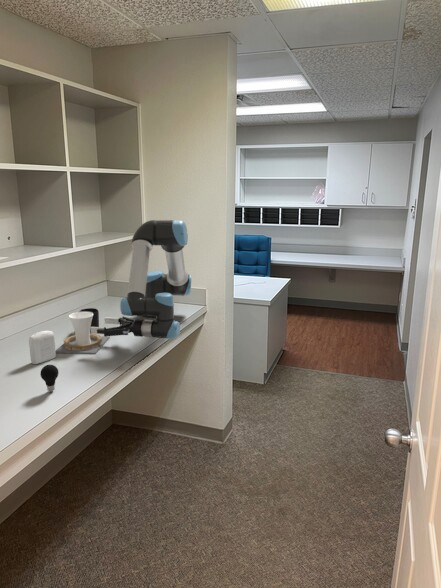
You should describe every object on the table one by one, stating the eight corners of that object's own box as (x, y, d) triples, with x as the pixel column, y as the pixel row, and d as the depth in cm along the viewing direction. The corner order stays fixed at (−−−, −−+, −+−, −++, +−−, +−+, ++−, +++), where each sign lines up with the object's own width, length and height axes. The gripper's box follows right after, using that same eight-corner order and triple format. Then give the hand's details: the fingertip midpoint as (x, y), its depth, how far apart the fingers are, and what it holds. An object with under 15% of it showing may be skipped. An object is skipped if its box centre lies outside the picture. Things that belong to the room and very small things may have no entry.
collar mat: (72, 336, 210) (72, 335, 210) (109, 337, 209) (109, 336, 209) (54, 352, 191) (54, 351, 191) (95, 354, 190) (95, 352, 190)
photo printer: (51, 355, 188) (49, 327, 185) (57, 357, 186) (55, 329, 183) (29, 363, 180) (26, 334, 177) (35, 365, 178) (32, 336, 175)
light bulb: (49, 386, 160) (47, 361, 157) (63, 389, 158) (61, 363, 156) (38, 394, 154) (35, 367, 152) (53, 396, 153) (50, 369, 150)
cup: (89, 348, 194) (86, 319, 191) (66, 347, 196) (64, 317, 192) (99, 340, 204) (97, 312, 201) (78, 339, 206) (75, 311, 202)
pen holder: (75, 331, 218) (74, 312, 215) (89, 326, 226) (88, 307, 223) (90, 334, 213) (88, 314, 211) (103, 329, 222) (102, 309, 219)
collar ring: (72, 337, 208) (72, 333, 208) (106, 338, 207) (106, 334, 207) (58, 349, 193) (58, 345, 192) (94, 350, 192) (94, 346, 191)
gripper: (133, 346, 181) (85, 342, 185) (153, 327, 205) (110, 324, 209) (132, 329, 179) (84, 325, 183) (153, 311, 203) (109, 309, 207)
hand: (98, 325), depth 196 cm, fingers open, 13 cm apart
